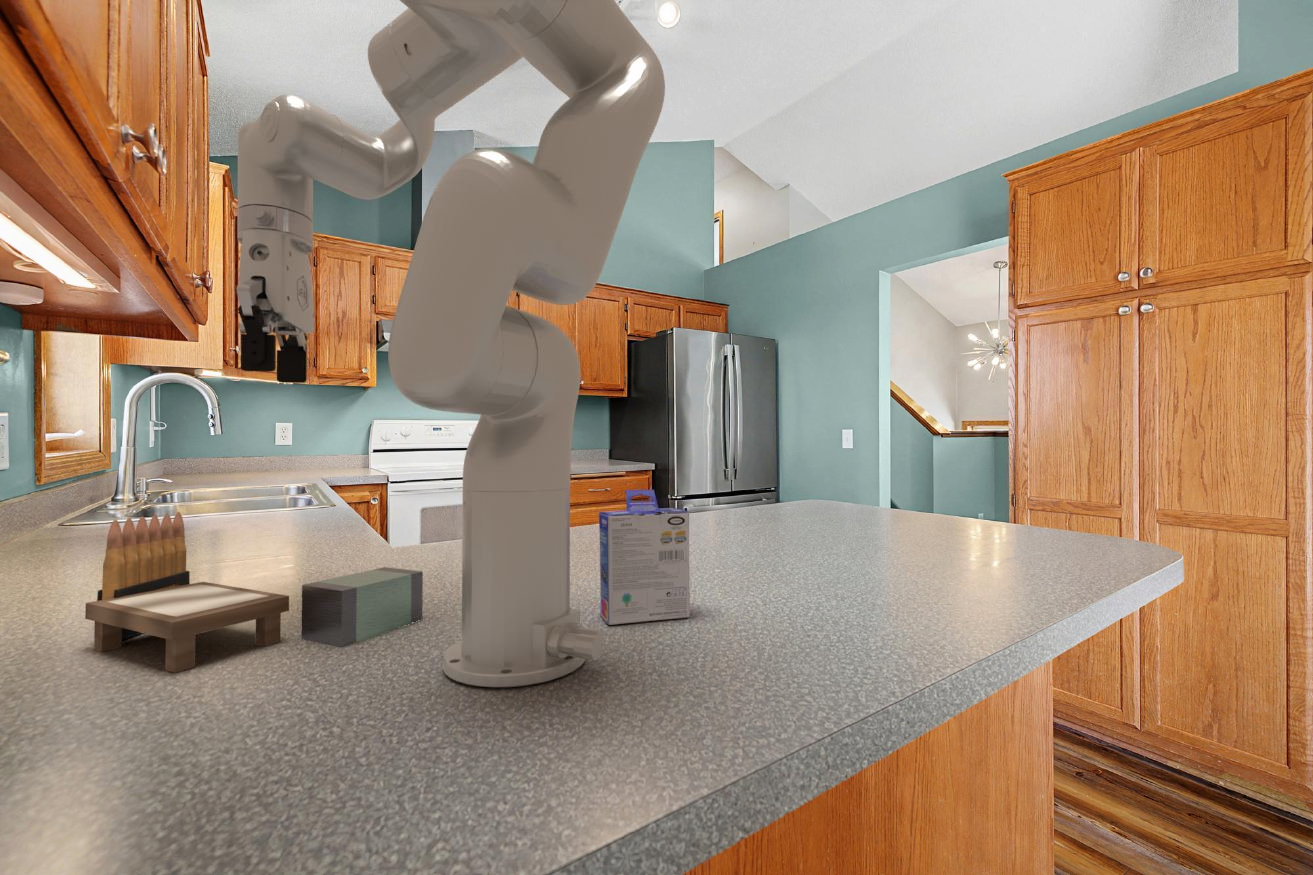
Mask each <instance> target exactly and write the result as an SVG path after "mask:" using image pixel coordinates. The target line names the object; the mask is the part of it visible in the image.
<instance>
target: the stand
mask: <svg viewBox="0 0 1313 875" xmlns="http://www.w3.org/2000/svg"><path fill="white" fill-rule="evenodd" d="M289 611H290V595H286V594H281V593H280V594H279V593H275V592H274V593H273V592H268V591H262V590H255V589H249V588H244V587H238V586H237V587H236V586H231V585H226V584H219V583H213V582H207V581H201V582H200V581H199V582H194V583H190V584H188V585H182V586H177V587H171V588H166V589H160V590H155V591H149V592H144V593H138V594H133V595H127V596H122V597H119V598H111V599H105V600H100V601H97V600H96V601H90V602H85V615H84V618H85V620H89V621H93V622H94V627H93V628H94V632H93V633H94V635H93V636H94V637H93V638H94V639H93V649H94V651H98V652H106V651H110V650H114V649H119V648H122V645H123V644H122V642H123V640H122V628H125V629H129V630H133V631H137V632H141V633H140V634H146V635H150V636H154V637H158V638H161V639H165V671H168V672H170V673H174V674H175V673H179V672H182V671H186V670H189V669H192V668H195V667H196V635H198V634H201V633H202V634H203V633H206V632H210V631H214V630H218V629H222V628H226V627H229V626H230V627H231V626H234V625H238V624H242V623H246V622H249V621H255V645H258V646H262V647H267V646H271V645H273V644H277V643H280V642H281V630H282V629H281V626H282V624H281V623H282V622H281V619H282V613H285V612H289Z"/></svg>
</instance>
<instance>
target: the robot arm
mask: <svg viewBox="0 0 1313 875" xmlns="http://www.w3.org/2000/svg"><path fill="white" fill-rule="evenodd" d="M399 1H400V2H401V3H402V4H403V5H405V7H407V9H406V10H404V11H403V12H401V13H400V14H399V15H398V16H397V17H396V18H394V19H393V20H391V22H389V23H388V24H387V25H385V26H384V27H383V28H382V29H381V30H379V31H377V32H376V33H375V34H374V35H373V36H372V37H371V39H370V41H369V42H368V47H367V60H368V66H369V68H370V71H371V74H372V77H373V78H374V81H375V83H376V84H377V87H378V89H379V91H380V92H381V94H382V96H383V97H384V98H385V100H386V101H387V103H388V104H389V106H390V107H391V108H392V109H393V111H394V112H395V114H396V115H397V116H398V118H399V120H398V121H396V123H395V124H393V125H392V126H391V127H389V128H387V129H386V130H385V131H384V132H382V133H380V134H379V135H377V136H372V135H370V134H369V133H367V132H366V131H364V130H362V129H360V128H358V127H356V126H355V125H353V124H351V123H349V122H347V121H346V120H344V119H342V118H340V117H338V116H336V115H335V114H332V113H330V112H329V111H327V110H324V109H323V108H321V107H320V106H317V105H316V104H314V103H312V102H310V101H309V100H307V99H304V98H302V97H300V96H297V95H295V94H294V95H293V94H289V93H286V94H285V93H284V94H280V95H278V96H277V97H275V98H274V99H272V100H271V101H270V102H267V104H266V105H265V106H264V108H263V110H262V112H261V113H260V115H259V116H258V117H257V119H255V120H254V119H253V120H250V121H247V122H244V124H242V125H241V127H240V129H239V131H238V133H237V241H238V243H240V244H241V249H240V256H239V257H240V258H239V270H238V272H239V273H238V285H236V294H237V298H238V305H239V306H238V308H237V311H238V312H237V313H238V314H239V317H240V319H241V320H240V322H239V325H238V326H239V327H238V328H239V333H240V369H241V370H242V371H245V372H266V373H267V372H268V373H270V372H275V371H276V380H277V382H279V383H288V384H289V383H290V384H291V383H295V384H298V383H300V384H301V383H304V384H305V383H306V382H307V379H308V378H307V377H308V374H307V372H308V370H307V368H308V367H307V366H308V365H307V364H308V363H307V362H308V361H307V360H308V359H307V358H308V357H307V353H308V352H307V351H308V345H307V341H308V335H310V334H312V333H314V331H315V312H314V310H315V308H314V295H313V294H314V292H313V291H314V290H313V281H312V271H311V269H312V268H311V262H310V258H309V255H310V254H312V253H314V181H318V182H319V183H322V184H324V185H326V186H328V187H330V188H333V189H335V190H338V191H340V192H342V193H344V194H346V195H349V196H351V197H354V198H356V199H360V200H375V199H379V198H382V197H385V196H386V195H389V194H391V193H392V192H394V191H395V190H397V189H399V188H400V187H402V186H403V185H405V184H407V183H408V182H409V181H411V180H412V179H413V178H414V177H416V176H417V175H418V173H419V172H420V171H421V170H422V168H423V166H424V165H425V163H426V161H427V158H428V157H429V155H430V152H431V150H432V147H433V142H434V138H435V137H434V136H435V124H436V122H435V121H436V118H438V117H439V116H440V115H441V114H443V113H445V112H446V111H448V110H449V109H450V108H452V107H454V106H455V105H456V104H458V103H459V102H460V101H463V100H464V99H465V98H467V97H468V96H469V95H471V94H473V93H474V92H475V91H477V90H478V89H479V88H481V87H483V86H485V85H486V84H487V83H489V82H490V81H492V80H493V79H494V78H496V77H497V76H498V75H500V74H501V73H502V72H504V71H505V70H507V69H509V68H510V67H511V66H513V65H515V64H516V63H517V62H518V61H520V60H521V59H522V58H524V59H525V60H526V61H527V62H528V63H529V64H530V65H531V66H532V68H535V69H536V70H537V72H539V73H540V74H541V75H542V76H543V77H545V78H546V79H547V80H548V81H549V82H550V83H551V84H552V85H554V87H555V88H557V90H559V91H560V92H562V93H563V94H565V95H566V96H567V97H568V98H569V99H567V100H566V101H565V102H564V103H562V104H561V106H559V108H558V109H557V110H556V111H554V113H553V114H552V116H551V117H550V118H549V119H548V121H547V123H546V124H545V127H544V128H543V130H542V132H541V135H540V139H539V142H538V145H537V149H536V152H535V155H534V158H533V161H532V162H530V161H528V160H527V159H525V158H523V157H522V156H520V155H518V154H517V153H514V152H511V151H510V150H509V151H508V150H506V149H503V148H497V147H484V148H480V149H479V148H478V149H475V150H472V151H470V152H468V153H466V154H464V155H462V157H460V158H458V159H457V160H456V161H455V162H454V163H453V164H451V166H450V167H449V168H448V169H447V171H446V172H445V173H444V174H443V175H442V176H441V178H440V179H439V181H438V183H437V184H436V186H435V188H434V189H433V192H432V194H431V197H430V198H429V201H428V203H427V207H426V210H425V213H424V215H423V218H422V222H421V225H420V228H419V233H418V235H417V239H416V242H415V245H414V248H413V251H412V256H411V258H410V262H409V265H408V269H407V272H406V275H405V278H404V282H403V285H402V289H401V292H400V296H399V299H398V302H397V305H396V309H395V311H394V312H395V313H394V316H393V319H392V324H391V327H390V332H389V339H388V345H387V346H388V348H387V354H388V356H387V359H388V366H389V367H388V368H389V370H390V375H391V377H392V381H393V383H394V384H395V386H396V388H397V390H399V392H400V393H401V395H403V396H404V397H405V398H406V399H407V400H409V401H411V403H414V405H418V406H420V407H421V408H426V409H429V410H434V411H441V412H447V413H448V412H449V413H457V414H458V413H459V414H468V415H469V414H470V415H480V417H479V419H478V422H477V424H476V427H475V429H474V431H473V433H472V435H471V437H470V440H469V442H468V446H467V448H466V451H465V455H464V456H465V457H464V461H463V467H462V468H463V470H462V505H461V506H462V507H461V508H462V512H461V513H462V514H461V515H462V518H461V519H462V522H461V523H462V529H461V531H462V533H461V534H462V535H461V537H462V538H461V539H462V540H461V542H462V543H461V544H462V545H461V547H462V548H461V569H462V570H461V640H459V641H457V642H456V643H454V644H452V645H451V646H450V647H448V648H447V649H446V650H445V651H444V653H443V656H442V667H441V668H442V670H443V673H444V675H446V676H447V677H448V678H449V679H451V680H453V681H455V682H457V683H462V684H465V685H469V686H473V687H474V686H475V687H480V688H481V687H484V688H512V687H513V688H514V687H523V686H532V685H535V684H536V685H537V684H541V683H546V682H549V681H553V680H555V679H558V678H559V679H560V678H562V677H564V676H566V675H568V674H570V673H573V672H574V671H576V670H578V669H579V668H580V667H581V666H582V665H583V664H584V663H585V661H586V660H591V661H597V660H599V659H600V658H601V656H602V654H603V651H604V641H605V631H604V629H602V628H595V627H583V625H582V623H581V609H579V608H573V607H572V608H571V604H570V603H571V595H570V594H571V588H570V587H571V585H570V584H571V573H570V572H571V560H570V559H571V549H570V548H571V519H570V518H571V506H570V505H571V470H572V469H571V466H572V465H571V462H572V457H571V456H572V440H573V439H572V438H573V437H572V436H573V429H574V421H575V415H576V414H575V413H576V409H577V403H578V399H579V392H580V385H581V378H582V377H581V362H580V357H579V354H578V351H577V349H576V347H575V345H574V343H573V341H572V340H571V338H570V337H569V335H567V334H566V333H565V332H564V331H563V330H562V329H561V328H560V327H558V326H557V325H556V324H554V323H553V322H551V321H550V320H547V319H545V318H544V317H541V316H538V315H536V314H532V313H530V312H527V311H525V310H524V311H523V310H521V309H517V308H514V307H512V306H510V305H508V302H509V300H510V296H511V294H512V291H513V292H515V293H519V294H521V295H524V296H526V297H529V298H532V299H534V300H538V301H541V302H545V303H547V304H553V305H555V306H556V305H557V306H570V305H574V304H576V303H579V302H581V301H583V300H584V299H586V298H587V296H589V295H590V293H592V291H593V289H594V288H595V286H596V284H597V282H598V281H599V278H600V276H601V274H602V271H603V269H604V266H605V264H606V261H607V258H608V254H609V252H610V249H611V246H612V244H613V240H614V238H615V234H616V232H617V230H618V226H619V223H620V220H621V218H622V216H623V215H622V214H623V212H624V210H625V207H626V204H627V200H628V199H629V195H630V192H631V189H632V185H633V182H634V179H635V177H636V173H637V170H638V168H639V166H640V163H641V161H642V158H643V155H644V153H645V151H646V149H647V147H648V145H649V142H650V140H651V138H652V135H653V133H654V131H655V128H656V127H657V124H658V122H659V119H660V116H661V112H662V110H663V107H664V106H663V105H664V101H665V96H666V95H665V94H666V93H665V92H666V80H665V74H664V70H663V66H662V63H661V61H660V60H659V57H658V56H657V54H656V53H655V51H654V49H653V48H652V46H650V44H649V43H648V42H647V40H646V39H645V38H644V37H643V36H642V34H641V33H640V32H639V30H637V28H636V27H635V25H633V23H632V22H631V20H630V19H629V18H628V17H627V15H626V14H625V13H624V11H623V10H622V9H621V7H620V6H619V5H618V3H617V2H616V1H615V0H399ZM272 333H275V334H272ZM307 334H308V335H307ZM287 336H288V337H287ZM286 337H287V338H286ZM277 341H278V346H279V349H277V346H276V345H277V344H276V342H277ZM276 349H277V350H276Z"/></svg>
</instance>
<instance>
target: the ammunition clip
mask: <svg viewBox="0 0 1313 875" xmlns="http://www.w3.org/2000/svg"><path fill="white" fill-rule="evenodd" d="M161 520H162V521H161V523H160V520H159V517H158V516H157V514H154V515H152V517H151V519H150V521H149V524H148V522H147V520H146V517H145V516H143V515H141V516H140V518H139V519H138V521H137V524H136V526H135V524H134V523H135V522H134V521H133V519H132V518H131V517H128V518H127V519H126V520H125V523H124V525H123V528H121V525H120V523H119V521H118V519H114V520H113V521H112V522H111V524H110V526H109V530H108V533H107V539H106V548H105V557H104V560H103V564H102V580H101V581H102V583H101V584H102V586H101V588H102V589H100V590H97V599H96V601H100V600H105V599H111V598H119V597H122V596H127V595H133V594H138V593H144V592H149V591H155V590H160V589H166V588H171V587H177V586H182V585H188V584H191V583H190V580H191V579H190V578H191V577H190V571H189V570H187V546H186V538H185V525H184V524H185V523H184V518H183V516H182V514H181V512H180V511H177V512H176V514H175V516H174V518H173V520H172V518H171V516H170V514H169V513H167V512H166V513H165V514H164V515H163V518H162V519H161ZM139 634H142V633H141V632H137V631H133V630H129V629H125V628H122V641H123V640H125V639H128V638H130V637H134V636H136V635H139Z"/></svg>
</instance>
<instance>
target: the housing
mask: <svg viewBox="0 0 1313 875" xmlns="http://www.w3.org/2000/svg"><path fill="white" fill-rule="evenodd" d="M423 572H424V571H420V570H412V569H403V568H395V567H386V566H384V567H379V568H374V569H371V570H365V571H361V572H360V571H359V572H356V573H352V574H346V575H342V576H338V577H337V576H336V577H333V578H327V579H323V580H319V581H315V582H310V583H306V584H302V585H301V640H303V639H304V641H309V642H313V643H318V644H322V645H327V646H333V647H337V648H344V647H347V646H350V645H353V644H357V643H358V642H362V641H365V640H368V639H371V638H374V637H377V636H380V635H382V634H385V633H389V632H392V631H394V629H395V630H397V629H400V628H399V627H401V628H404V627H405V626H404V625H407V626H409V625H408V624H410V625H412V624H411V623H412V622H416V621H418V620H421V619H422V620H423V597H424V596H423V591H424V590H423V584H424V583H423V580H424V578H423V576H424V574H423ZM416 623H417V622H416ZM403 626H404V627H403ZM388 631H389V632H388Z"/></svg>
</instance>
